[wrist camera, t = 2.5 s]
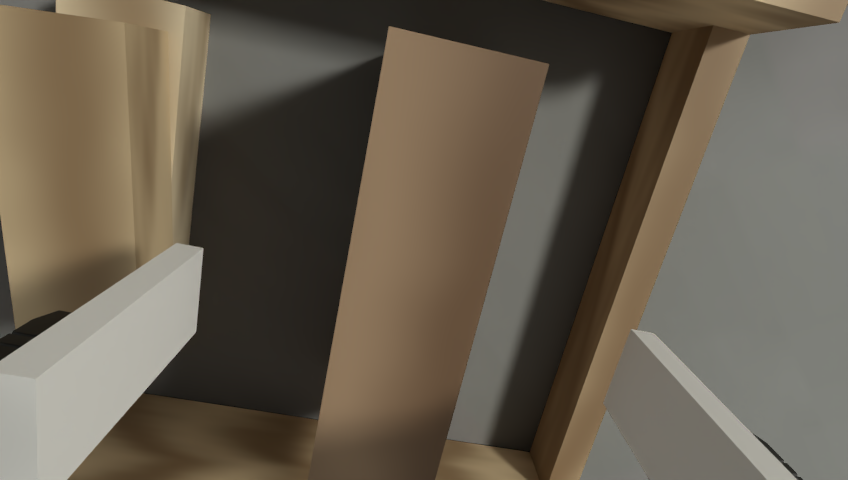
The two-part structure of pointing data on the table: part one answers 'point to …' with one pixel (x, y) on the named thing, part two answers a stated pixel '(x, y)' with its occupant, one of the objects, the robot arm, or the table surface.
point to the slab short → (81, 155)
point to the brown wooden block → (421, 252)
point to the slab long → (187, 66)
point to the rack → (598, 311)
